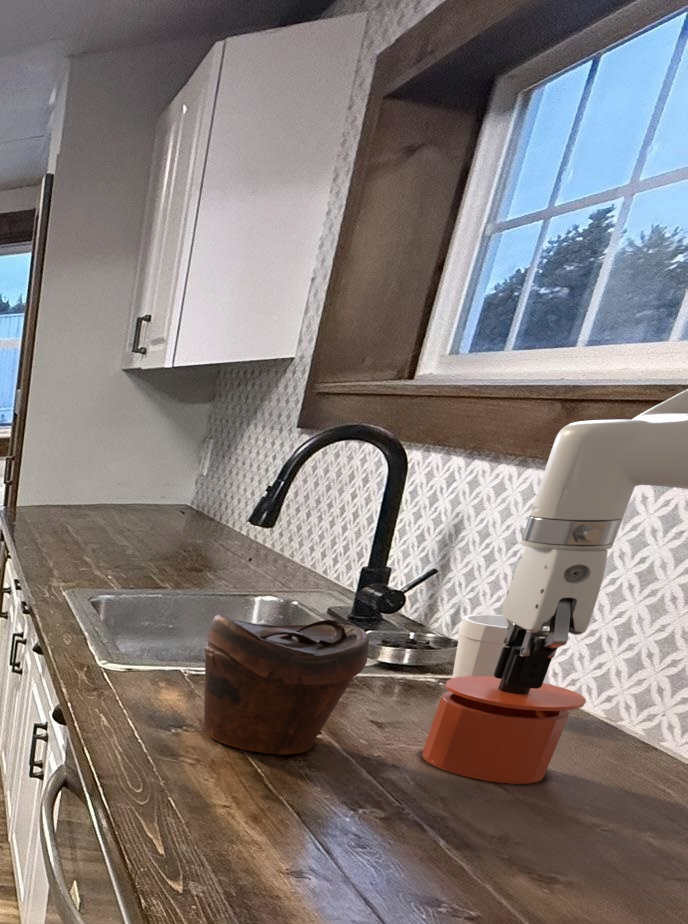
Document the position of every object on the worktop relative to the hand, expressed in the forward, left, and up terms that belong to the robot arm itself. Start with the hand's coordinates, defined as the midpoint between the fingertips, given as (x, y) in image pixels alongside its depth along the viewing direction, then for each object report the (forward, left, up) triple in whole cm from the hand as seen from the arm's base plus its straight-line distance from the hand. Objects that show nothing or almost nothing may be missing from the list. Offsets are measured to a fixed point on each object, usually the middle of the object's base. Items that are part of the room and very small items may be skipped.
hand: (516, 681), depth 103 cm
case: (+24, -1, -12) cm, 27 cm away
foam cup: (-8, -29, -12) cm, 32 cm away
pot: (0, 0, -12) cm, 12 cm away
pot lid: (0, 0, -2) cm, 2 cm away
